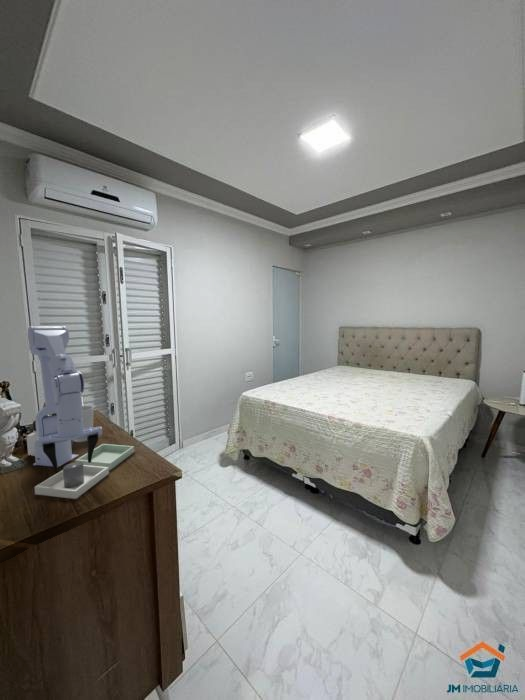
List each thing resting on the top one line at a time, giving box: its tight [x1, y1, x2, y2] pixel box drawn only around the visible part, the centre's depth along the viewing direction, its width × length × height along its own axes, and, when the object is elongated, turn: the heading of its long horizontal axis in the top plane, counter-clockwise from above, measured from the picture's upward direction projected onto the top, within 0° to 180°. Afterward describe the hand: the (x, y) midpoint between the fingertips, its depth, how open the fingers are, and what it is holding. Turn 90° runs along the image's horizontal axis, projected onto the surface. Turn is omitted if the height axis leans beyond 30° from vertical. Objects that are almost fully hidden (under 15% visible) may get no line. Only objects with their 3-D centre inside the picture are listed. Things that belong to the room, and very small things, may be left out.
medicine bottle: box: [26, 419, 38, 457], centre depth 96 cm, size 7×7×12 cm
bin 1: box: [34, 465, 110, 500], centre depth 77 cm, size 12×12×3 cm
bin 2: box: [74, 443, 135, 471], centre depth 91 cm, size 12×12×3 cm
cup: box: [73, 405, 95, 443], centre depth 107 cm, size 8×8×12 cm
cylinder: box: [62, 462, 84, 488], centre depth 77 cm, size 5×5×5 cm
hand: (73, 465), depth 76 cm, fingers open, 7 cm apart
